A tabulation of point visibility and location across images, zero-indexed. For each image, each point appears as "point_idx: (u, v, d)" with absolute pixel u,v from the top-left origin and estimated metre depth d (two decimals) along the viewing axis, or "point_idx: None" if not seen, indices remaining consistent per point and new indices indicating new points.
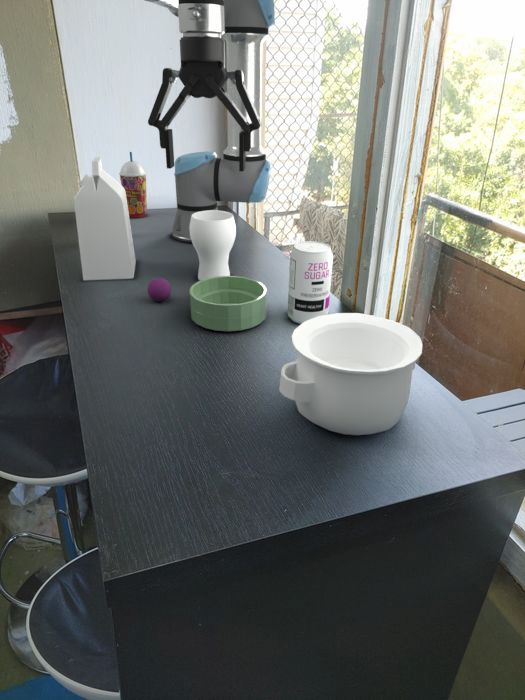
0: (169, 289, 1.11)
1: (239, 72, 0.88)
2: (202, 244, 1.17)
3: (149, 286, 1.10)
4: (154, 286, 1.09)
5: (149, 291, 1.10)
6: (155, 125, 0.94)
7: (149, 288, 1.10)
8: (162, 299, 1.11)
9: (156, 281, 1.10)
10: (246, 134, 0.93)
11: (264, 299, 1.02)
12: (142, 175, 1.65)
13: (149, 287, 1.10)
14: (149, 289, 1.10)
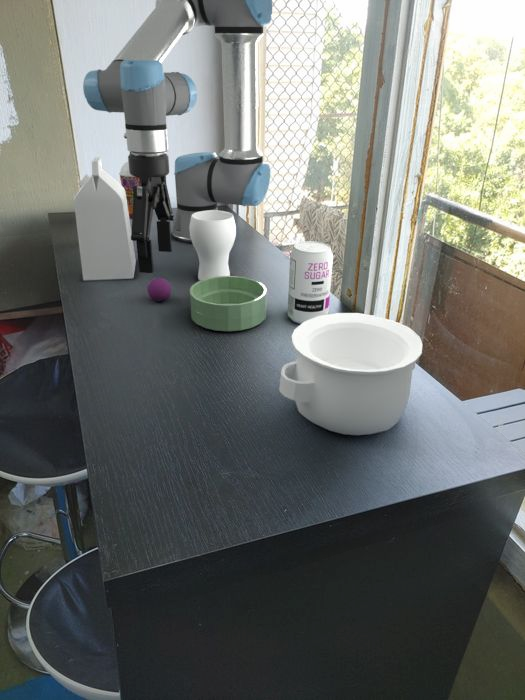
0: (169, 289, 1.11)
1: (133, 187, 0.95)
2: (202, 244, 1.17)
3: (149, 286, 1.10)
4: (154, 286, 1.09)
5: (149, 291, 1.10)
6: None
7: (149, 288, 1.10)
8: (162, 299, 1.11)
9: (156, 281, 1.10)
10: None
11: (264, 299, 1.02)
12: None
13: (149, 287, 1.10)
14: (149, 289, 1.10)
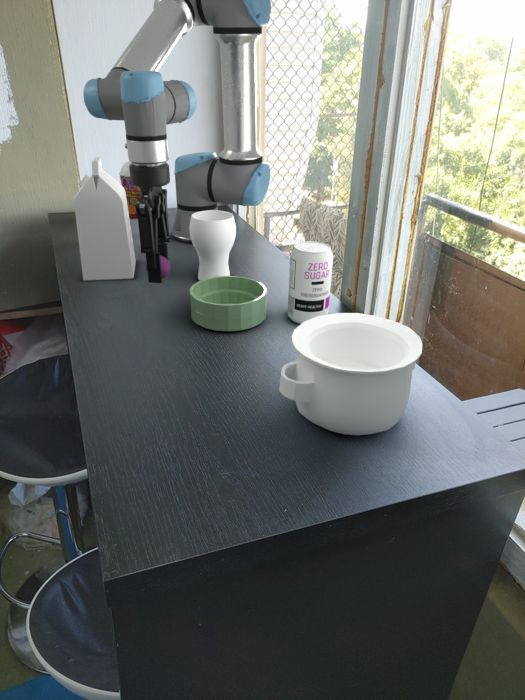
0: (168, 266, 1.09)
1: (135, 206, 0.97)
2: (202, 244, 1.17)
3: None
4: None
5: None
6: None
7: None
8: None
9: None
10: None
11: (264, 299, 1.02)
12: None
13: None
14: None
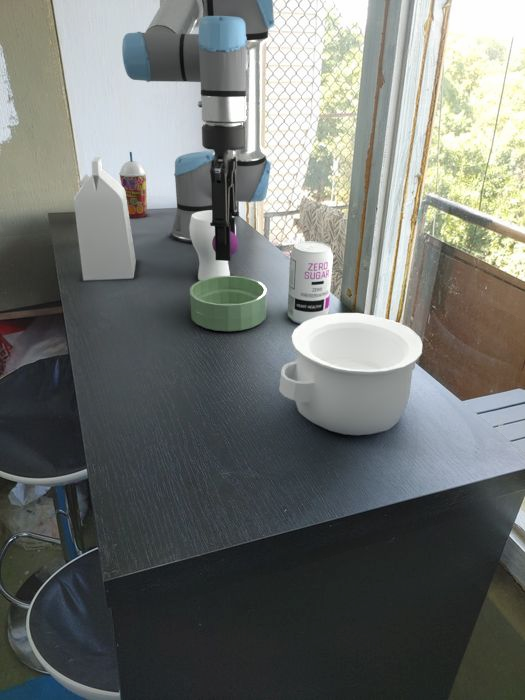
0: (237, 242, 0.98)
1: (210, 171, 0.87)
2: (202, 244, 1.17)
3: None
4: None
5: (214, 244, 0.98)
6: None
7: None
8: None
9: None
10: None
11: (264, 299, 1.02)
12: (142, 175, 1.65)
13: None
14: None
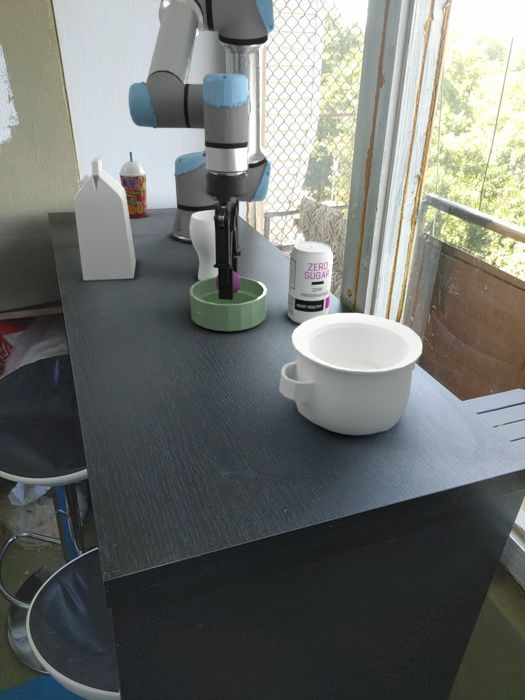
0: (239, 282, 1.02)
1: (214, 218, 0.90)
2: (202, 244, 1.17)
3: None
4: None
5: (217, 283, 1.01)
6: None
7: None
8: None
9: None
10: None
11: (264, 299, 1.02)
12: (142, 175, 1.65)
13: None
14: None
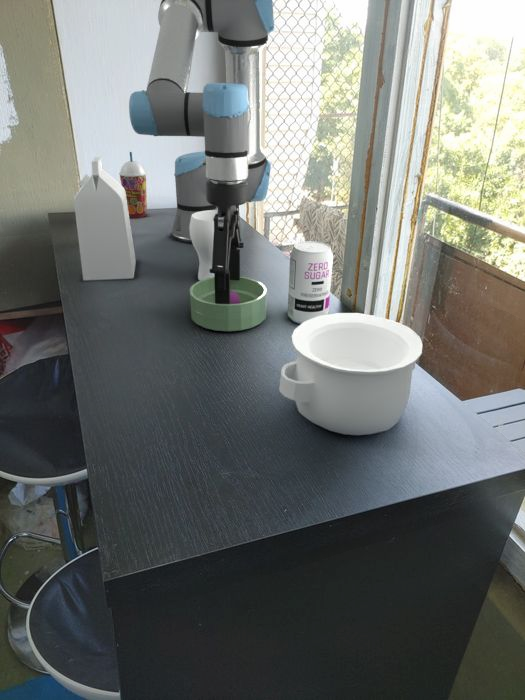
0: (239, 302, 1.04)
1: None
2: (202, 244, 1.17)
3: None
4: None
5: None
6: None
7: None
8: None
9: None
10: None
11: (264, 299, 1.02)
12: (142, 175, 1.65)
13: None
14: None
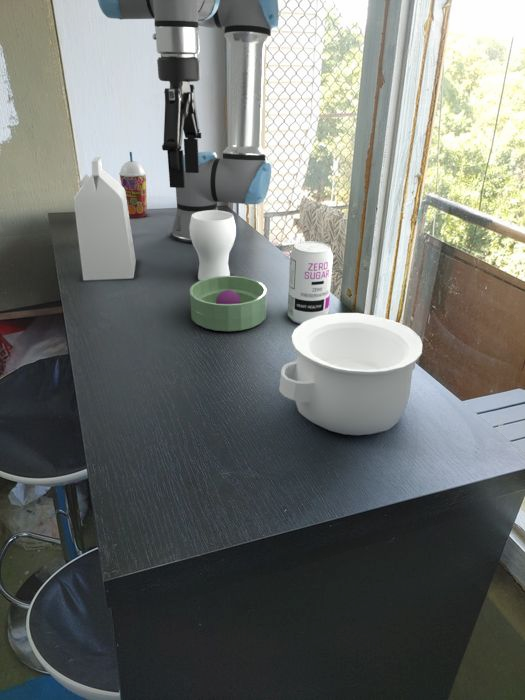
0: (239, 302, 1.04)
1: (164, 91, 0.89)
2: (202, 244, 1.17)
3: (219, 298, 1.04)
4: (224, 298, 1.03)
5: (218, 303, 1.04)
6: None
7: (219, 300, 1.03)
8: None
9: (226, 292, 1.03)
10: None
11: (264, 299, 1.02)
12: (142, 175, 1.65)
13: (219, 299, 1.03)
14: (219, 301, 1.03)
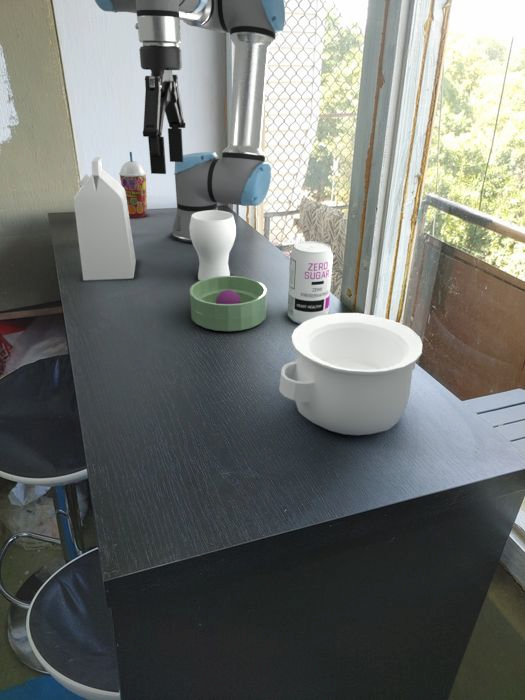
0: (239, 302, 1.04)
1: (145, 78, 0.92)
2: (202, 244, 1.17)
3: (219, 298, 1.04)
4: (225, 297, 1.03)
5: (218, 303, 1.04)
6: None
7: (219, 300, 1.03)
8: None
9: (226, 292, 1.04)
10: None
11: (264, 299, 1.02)
12: (142, 175, 1.65)
13: (219, 299, 1.04)
14: (219, 301, 1.03)
